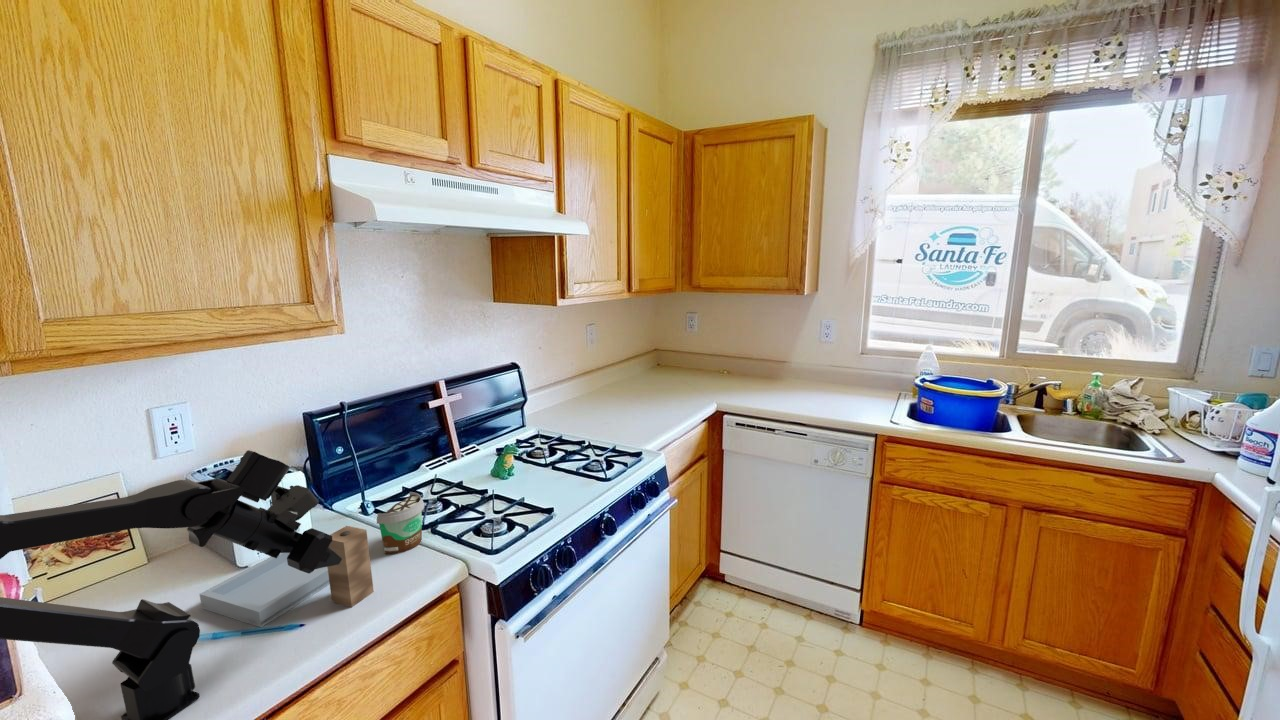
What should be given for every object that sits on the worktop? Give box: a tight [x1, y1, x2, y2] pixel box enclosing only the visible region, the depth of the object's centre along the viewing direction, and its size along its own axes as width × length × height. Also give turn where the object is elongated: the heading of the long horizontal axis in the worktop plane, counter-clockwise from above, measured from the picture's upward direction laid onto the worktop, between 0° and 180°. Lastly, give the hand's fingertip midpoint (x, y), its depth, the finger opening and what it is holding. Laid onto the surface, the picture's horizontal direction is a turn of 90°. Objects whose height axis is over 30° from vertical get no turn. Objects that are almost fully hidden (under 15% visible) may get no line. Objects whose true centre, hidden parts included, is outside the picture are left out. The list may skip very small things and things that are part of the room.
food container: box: [376, 491, 425, 555], centre depth 120 cm, size 12×6×10 cm, turn 168°
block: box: [327, 525, 375, 608], centre depth 101 cm, size 5×5×13 cm
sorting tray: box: [199, 553, 330, 628], centre depth 105 cm, size 20×16×3 cm
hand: (324, 555), depth 96 cm, fingers open, 9 cm apart
